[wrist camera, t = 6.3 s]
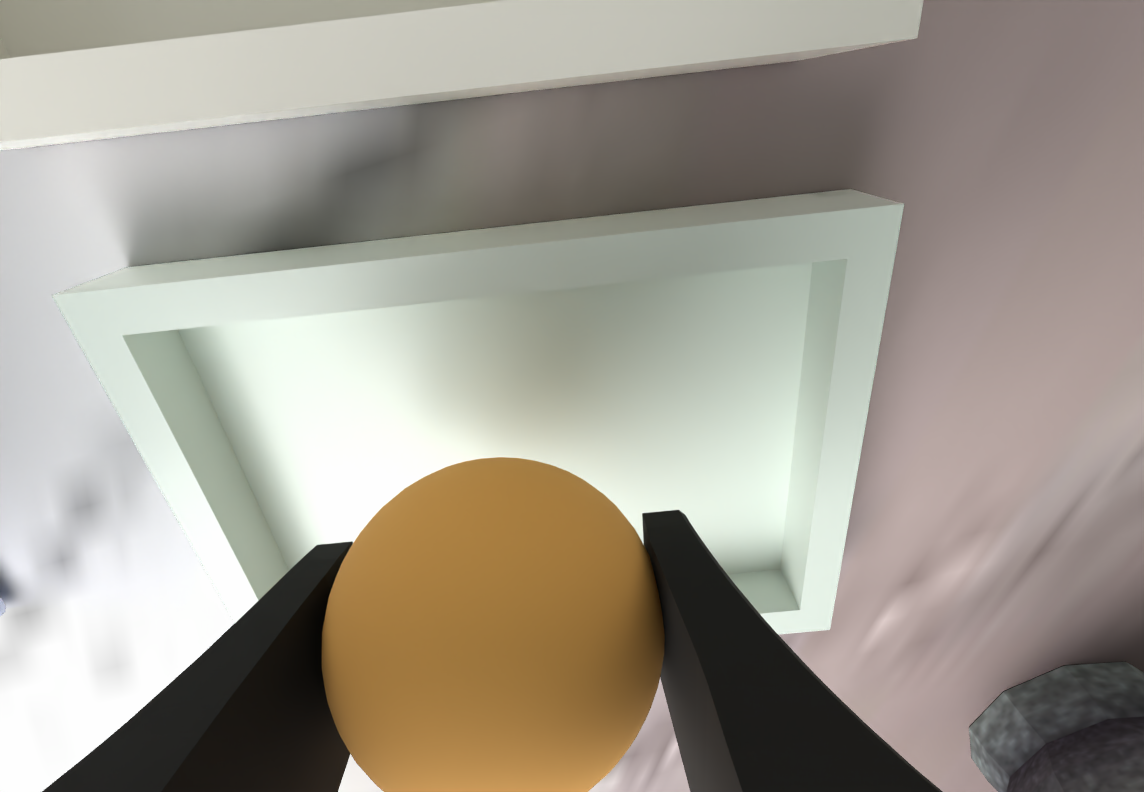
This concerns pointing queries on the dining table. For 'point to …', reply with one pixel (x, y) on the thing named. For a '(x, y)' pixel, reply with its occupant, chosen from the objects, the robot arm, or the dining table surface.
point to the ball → (493, 633)
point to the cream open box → (376, 54)
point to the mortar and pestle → (1065, 732)
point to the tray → (515, 379)
